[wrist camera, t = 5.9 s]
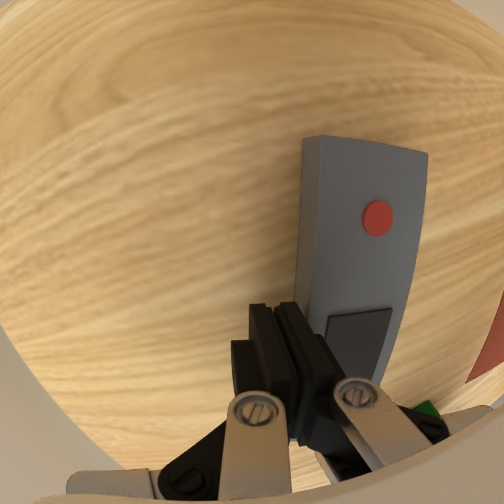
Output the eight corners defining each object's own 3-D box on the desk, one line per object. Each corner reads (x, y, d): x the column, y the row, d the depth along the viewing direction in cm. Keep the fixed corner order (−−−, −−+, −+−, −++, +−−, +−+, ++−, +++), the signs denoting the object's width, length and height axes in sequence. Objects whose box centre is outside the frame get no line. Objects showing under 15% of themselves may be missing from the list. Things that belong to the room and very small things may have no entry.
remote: (302, 138, 9) (322, 133, 7) (401, 151, 10) (431, 153, 8) (279, 418, 14) (286, 445, 12) (350, 405, 14) (362, 428, 12)
